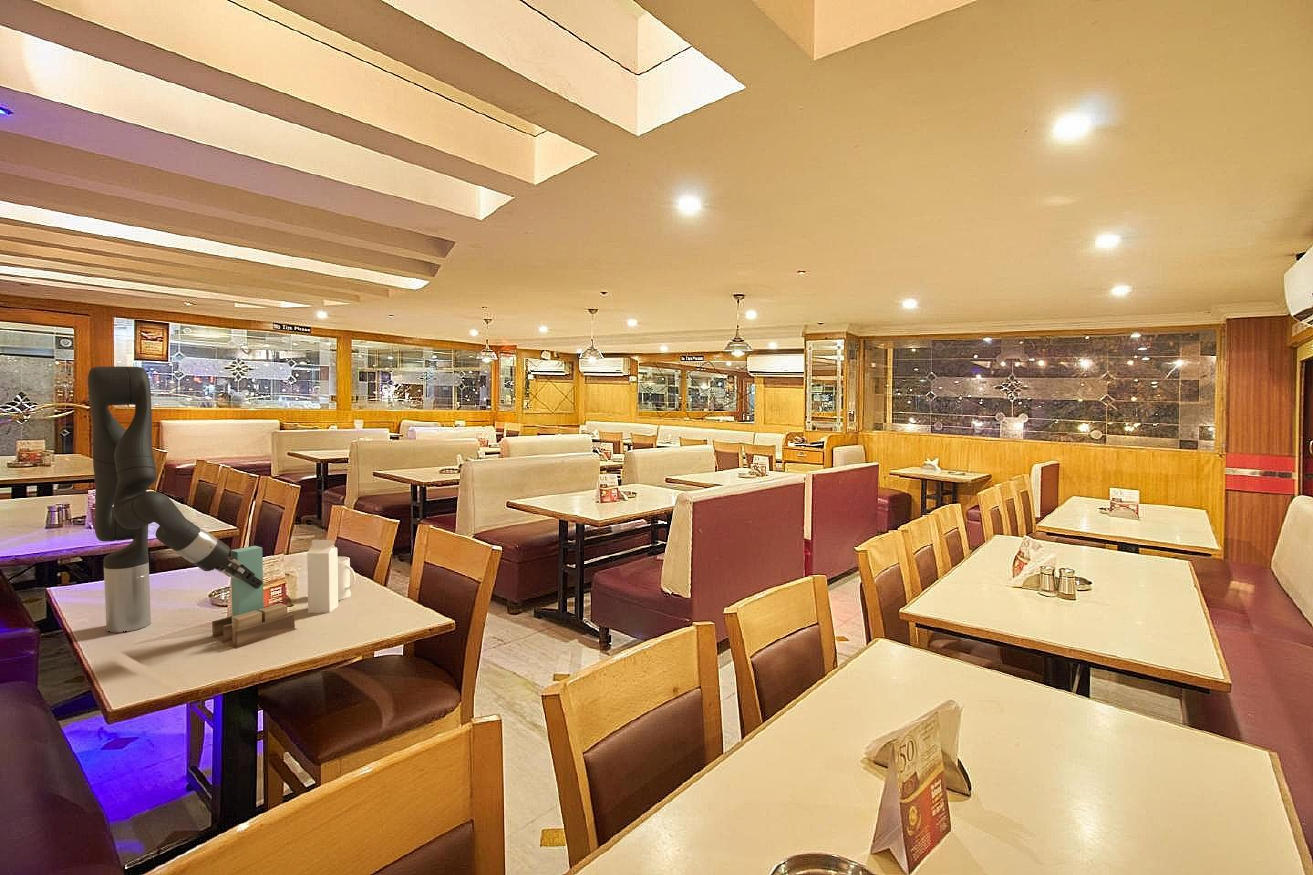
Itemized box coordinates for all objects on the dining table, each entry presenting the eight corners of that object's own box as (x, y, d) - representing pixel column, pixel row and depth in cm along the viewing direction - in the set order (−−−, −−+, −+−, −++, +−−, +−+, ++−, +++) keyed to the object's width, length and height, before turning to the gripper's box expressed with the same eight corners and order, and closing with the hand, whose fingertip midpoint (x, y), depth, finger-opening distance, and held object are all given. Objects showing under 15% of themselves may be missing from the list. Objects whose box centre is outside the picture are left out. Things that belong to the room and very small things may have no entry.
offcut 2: (259, 633, 160) (258, 609, 160) (281, 626, 165) (280, 603, 165) (265, 636, 159) (265, 611, 158) (287, 629, 164) (287, 605, 163)
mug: (364, 596, 195) (364, 559, 194) (341, 604, 187) (341, 566, 186) (337, 590, 200) (337, 554, 199) (314, 598, 192) (313, 561, 191)
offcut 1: (232, 641, 155) (231, 616, 154) (256, 634, 160) (255, 610, 159) (238, 644, 153) (238, 619, 153) (262, 637, 158) (261, 612, 158)
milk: (317, 610, 182) (316, 537, 181) (338, 610, 183) (337, 537, 181) (307, 617, 176) (306, 542, 175) (329, 617, 177) (328, 542, 175)
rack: (210, 642, 158) (209, 621, 157) (270, 624, 171) (270, 604, 170) (236, 654, 151) (235, 632, 151) (297, 634, 164) (297, 614, 164)
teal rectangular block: (232, 632, 161) (230, 550, 159) (256, 625, 166) (255, 545, 164) (239, 635, 159) (237, 552, 157) (264, 628, 164) (262, 547, 162)
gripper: (228, 540, 150) (280, 576, 162) (200, 532, 157) (251, 567, 169) (204, 566, 146) (259, 601, 158) (176, 557, 153) (231, 591, 165)
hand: (255, 584), depth 163 cm, fingers closed on teal rectangular block, 3 cm apart
